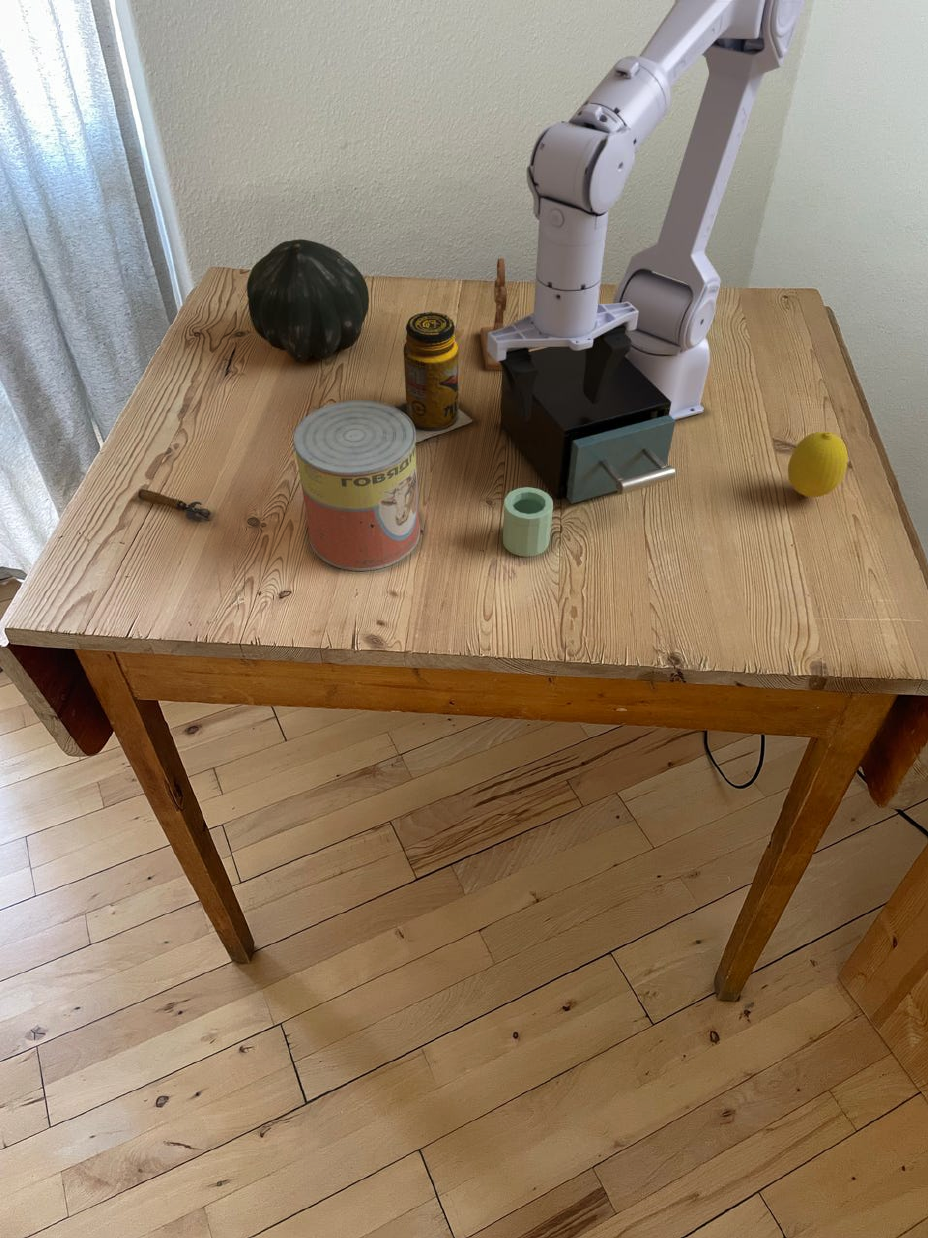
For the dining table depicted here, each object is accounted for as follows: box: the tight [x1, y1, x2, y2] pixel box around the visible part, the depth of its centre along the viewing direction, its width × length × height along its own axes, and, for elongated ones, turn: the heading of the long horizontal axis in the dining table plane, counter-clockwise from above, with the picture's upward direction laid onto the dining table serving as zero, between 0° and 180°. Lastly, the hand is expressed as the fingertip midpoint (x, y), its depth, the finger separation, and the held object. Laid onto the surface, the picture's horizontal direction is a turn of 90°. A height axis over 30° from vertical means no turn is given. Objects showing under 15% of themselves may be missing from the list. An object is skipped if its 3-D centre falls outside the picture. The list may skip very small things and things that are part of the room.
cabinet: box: [499, 346, 671, 501], centre depth 98 cm, size 14×12×9 cm
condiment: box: [394, 311, 473, 444], centre depth 101 cm, size 7×8×12 cm
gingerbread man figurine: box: [480, 257, 508, 372], centre depth 111 cm, size 9×4×12 cm, turn 4°
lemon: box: [787, 431, 849, 498], centre depth 93 cm, size 6×6×8 cm
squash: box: [246, 238, 370, 362], centre depth 112 cm, size 14×15×15 cm
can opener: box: [137, 488, 211, 523], centre depth 94 cm, size 9×2×1 cm, turn 62°
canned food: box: [292, 399, 421, 572], centre depth 88 cm, size 11×11×12 cm
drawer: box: [564, 411, 677, 504], centre depth 95 cm, size 18×11×7 cm, turn 23°
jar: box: [502, 486, 554, 558], centre depth 89 cm, size 5×5×5 cm
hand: (556, 406), depth 89 cm, fingers open, 7 cm apart
